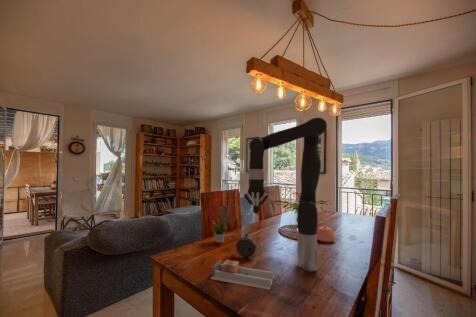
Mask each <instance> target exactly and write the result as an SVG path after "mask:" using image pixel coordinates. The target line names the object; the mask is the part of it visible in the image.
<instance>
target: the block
mask: <svg viewBox="0 0 476 317" xmlns="http://www.w3.org/2000/svg"><path fill="white" fill-rule="evenodd" d="M222 264H223V271H224V272H230V273H236V274H238V273H239V267H240V261H237V260H231V259H226V260H225V261H224V262H223V263H222Z"/></svg>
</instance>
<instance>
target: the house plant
mask: <svg viewBox="0 0 476 317" xmlns="http://www.w3.org/2000/svg"><path fill="white" fill-rule="evenodd" d="M226 219H227V217H226V218H224V219H223V220H222V222H221V221H220V219H219V218H217V221H218V222H217V223H218V224H217V223H216V221H214V220H213V219H211V221H212V225H213V226H212V227H211V229H213V230H215V232H214V234H213V235H214V240H215V241H217V242H222V241H225V234H226V233H225V232H224V231H228V227H225V226H226V225H227V223H228V222H231V221H232V220H231V219H230V220H226ZM215 241H214V242H215Z"/></svg>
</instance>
